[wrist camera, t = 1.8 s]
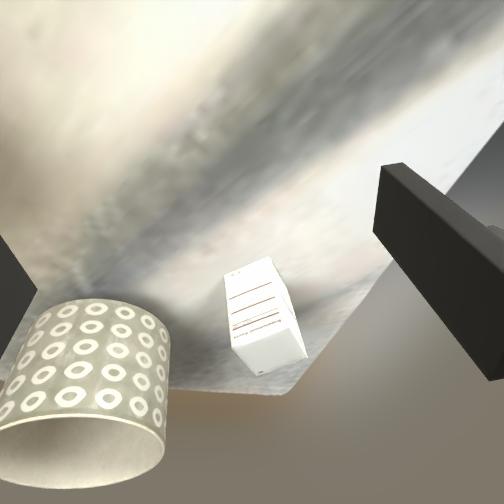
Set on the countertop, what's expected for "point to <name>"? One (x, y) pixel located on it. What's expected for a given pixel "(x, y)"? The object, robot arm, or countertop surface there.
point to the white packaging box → (262, 318)
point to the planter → (86, 397)
